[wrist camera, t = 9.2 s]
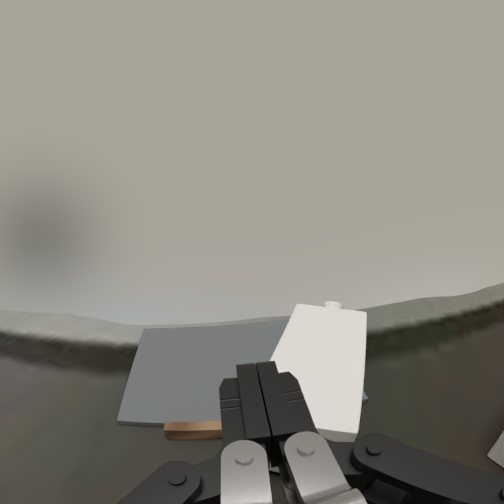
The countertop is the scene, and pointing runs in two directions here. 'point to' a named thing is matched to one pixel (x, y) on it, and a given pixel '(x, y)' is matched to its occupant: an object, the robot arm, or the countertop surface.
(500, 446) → the ink cartridge box
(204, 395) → the mat
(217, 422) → the strip
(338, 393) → the milk carton
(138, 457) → the countertop surface
